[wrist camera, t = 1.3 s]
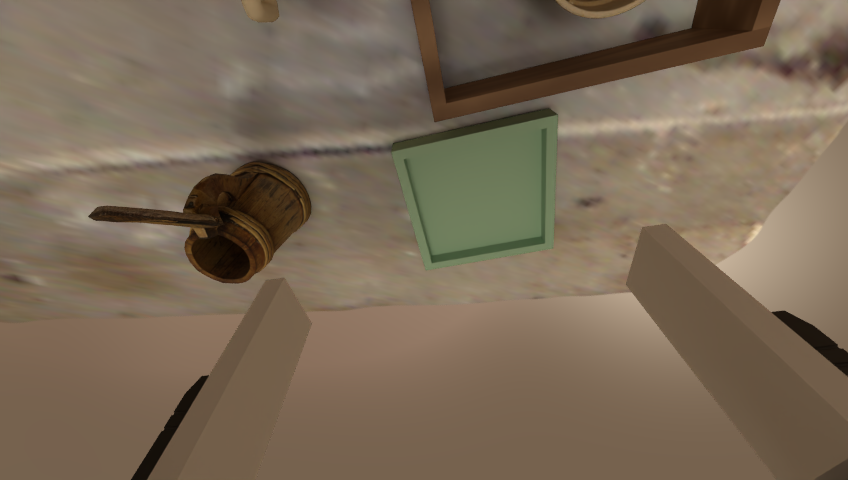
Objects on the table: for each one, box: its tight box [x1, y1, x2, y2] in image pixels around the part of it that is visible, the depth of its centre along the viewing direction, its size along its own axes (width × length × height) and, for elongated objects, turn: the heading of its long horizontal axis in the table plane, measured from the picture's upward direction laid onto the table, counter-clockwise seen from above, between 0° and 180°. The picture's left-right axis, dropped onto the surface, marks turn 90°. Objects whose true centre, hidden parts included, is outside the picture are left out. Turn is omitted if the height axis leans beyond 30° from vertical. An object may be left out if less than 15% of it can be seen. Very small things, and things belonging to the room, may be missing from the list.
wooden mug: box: [88, 162, 311, 283], centre depth 27 cm, size 9×14×18 cm, turn 176°
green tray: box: [391, 108, 558, 270], centre depth 35 cm, size 16×16×2 cm
